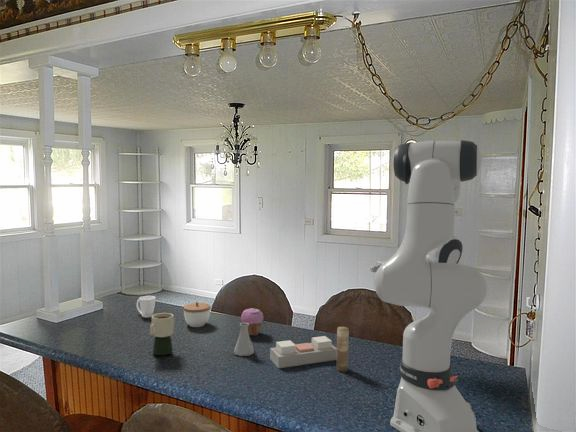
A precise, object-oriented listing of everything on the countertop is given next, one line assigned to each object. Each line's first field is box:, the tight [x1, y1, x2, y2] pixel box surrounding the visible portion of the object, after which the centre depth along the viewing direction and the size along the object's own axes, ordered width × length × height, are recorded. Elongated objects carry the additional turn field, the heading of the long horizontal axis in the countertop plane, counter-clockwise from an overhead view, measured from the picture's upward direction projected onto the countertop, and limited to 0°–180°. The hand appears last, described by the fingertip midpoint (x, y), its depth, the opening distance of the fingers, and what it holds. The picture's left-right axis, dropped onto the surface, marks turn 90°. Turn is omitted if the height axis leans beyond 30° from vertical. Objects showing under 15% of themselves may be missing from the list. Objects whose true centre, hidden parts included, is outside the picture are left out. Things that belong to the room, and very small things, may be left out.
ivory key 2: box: [311, 335, 333, 350], centre depth 145 cm, size 5×5×3 cm
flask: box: [233, 322, 255, 357], centre depth 147 cm, size 7×7×10 cm
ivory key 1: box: [275, 339, 296, 355], centre depth 140 cm, size 5×5×3 cm
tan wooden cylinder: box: [335, 326, 350, 373], centre depth 135 cm, size 4×4×13 cm
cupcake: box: [240, 307, 264, 337], centre depth 166 cm, size 9×9×10 cm
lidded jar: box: [183, 301, 211, 328], centre depth 176 cm, size 11×11×9 cm
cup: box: [135, 295, 157, 318], centre depth 188 cm, size 7×10×8 cm
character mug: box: [149, 312, 176, 356], centre depth 145 cm, size 11×7×13 cm, turn 152°
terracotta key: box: [294, 342, 314, 353], centre depth 142 cm, size 5×5×3 cm
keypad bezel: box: [269, 342, 337, 369], centre depth 142 cm, size 8×21×4 cm, turn 111°
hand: (379, 272), depth 138 cm, fingers open, 8 cm apart
